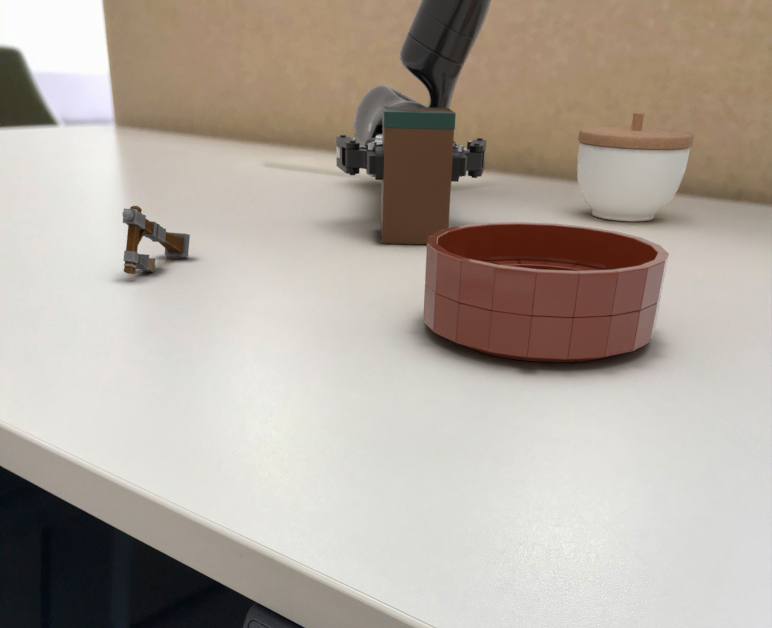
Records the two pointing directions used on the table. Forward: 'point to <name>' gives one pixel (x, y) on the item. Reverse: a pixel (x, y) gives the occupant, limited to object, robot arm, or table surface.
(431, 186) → the tea box
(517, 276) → the bowl
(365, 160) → the robot arm
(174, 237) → the wooden post with brackets
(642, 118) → the trinket box
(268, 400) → the table surface
